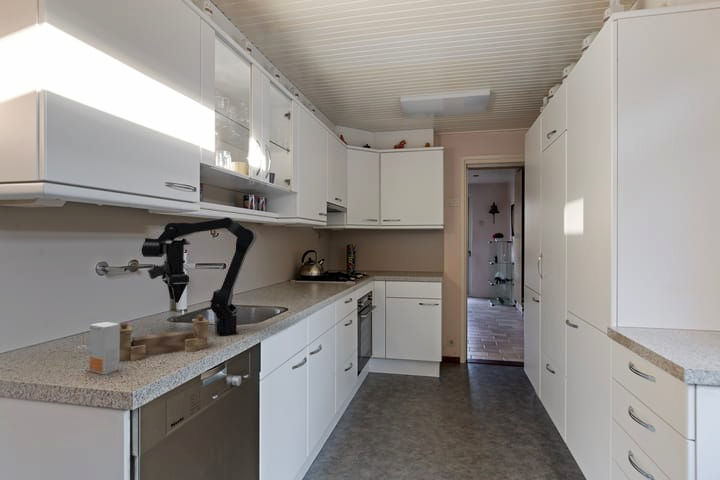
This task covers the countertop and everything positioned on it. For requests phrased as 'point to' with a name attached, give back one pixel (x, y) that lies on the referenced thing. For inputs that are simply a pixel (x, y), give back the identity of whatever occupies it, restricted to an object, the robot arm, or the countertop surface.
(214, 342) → the countertop surface
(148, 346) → the rail
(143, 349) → the wooden stepped supports
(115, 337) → the skincare box
